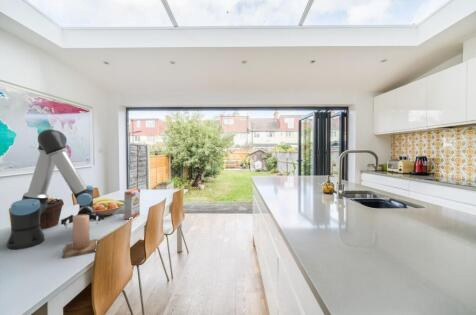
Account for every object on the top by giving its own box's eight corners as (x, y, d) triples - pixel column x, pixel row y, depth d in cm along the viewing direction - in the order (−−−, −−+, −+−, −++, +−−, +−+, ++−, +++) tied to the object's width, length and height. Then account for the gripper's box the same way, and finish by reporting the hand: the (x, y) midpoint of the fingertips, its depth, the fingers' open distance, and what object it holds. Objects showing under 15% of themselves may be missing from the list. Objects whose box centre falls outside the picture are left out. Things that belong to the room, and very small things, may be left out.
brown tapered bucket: (71, 221, 159) (70, 196, 159) (44, 231, 140) (43, 203, 139) (48, 220, 161) (48, 195, 160) (19, 230, 141) (18, 202, 141)
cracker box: (131, 219, 166) (131, 191, 165) (123, 219, 166) (123, 191, 165) (140, 214, 180) (140, 188, 179) (133, 214, 180) (133, 188, 179)
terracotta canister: (72, 250, 112) (72, 219, 112) (73, 245, 118) (73, 215, 118) (89, 247, 116) (88, 217, 115) (89, 242, 122) (89, 213, 121)
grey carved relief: (139, 212, 185) (139, 203, 185) (104, 217, 174) (104, 208, 174) (139, 209, 199) (138, 201, 199) (106, 213, 188) (106, 205, 188)
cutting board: (62, 258, 108) (62, 255, 108) (66, 247, 119) (66, 244, 119) (97, 251, 115) (97, 248, 115) (97, 241, 127) (97, 239, 127)
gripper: (108, 216, 146) (108, 226, 128) (60, 222, 133) (52, 234, 115) (108, 205, 146) (108, 213, 127) (59, 210, 133) (52, 220, 115)
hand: (82, 223), depth 121 cm, fingers open, 13 cm apart
